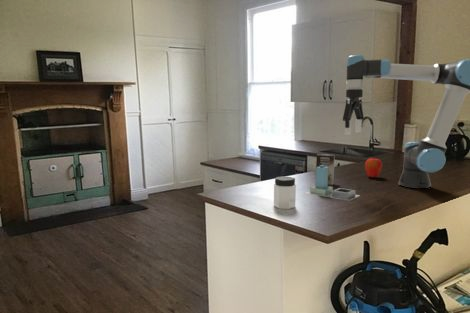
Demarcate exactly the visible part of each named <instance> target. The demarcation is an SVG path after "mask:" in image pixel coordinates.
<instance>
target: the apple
mask: <svg viewBox="0 0 470 313" xmlns="http://www.w3.org/2000/svg"><path fill="white" fill-rule="evenodd" d="M382 167H383V163H382V161H381V159H379V158H375V157H371V158H368V159H366V161H365V163H364V170H365V172H366V175H367V176H368V177H369V178H378V176H379V175H380V173H381V172H382Z"/></svg>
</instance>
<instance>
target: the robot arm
mask: <svg viewBox="0 0 470 313" xmlns="http://www.w3.org/2000/svg"><path fill="white" fill-rule="evenodd" d="M364 78H366V79H371V78H372V79H373V78H374V79H386V80H389V79H391V80H405V81H406V80H407V81H423V82H430V83H431V84H436V85H444V87H445V92H444V94H443V97H442V98H441V101H440V104H439V107H438V108H437V110H436V113H435V115H434V118H433V120H432V122H431V125H430V127H429V130H428V132H427V134H426V136H425V138H422V139H421V140H420V142H419V141H411V142H409V141H408V142H406V143H405V144H404V151H403V152H404V153H403V154H404V155H403V169H402V173H401V175H400V177H399V180H398V186H399V185H402V186H405V187H412V188H426V187H430V186H431V187H432V183H431V179H430V175H429V173H436V172H438V171H440V170H442V168H443V167H444V166H445V164H446V163H447V162H446V160H447V158H446V155H445V153H446V151H447V149H448V148H447V145H446V142H447V139H448V138H449V135H450V133H451V131H452V128H453V126H454V123H455V121H456V119H457V116H458V115H459V112H460V110H461V107H462V105H463V103H464V101H465V98H466V96H467V95H468V94H469V95H470V58H465V59H464V58H463V59H462V60H457V61H453V62H447V63H434V64H433V65H425V64H424V65H423V64H408V63H406V64H405V63H391V61H390V59H383V58H382V59H365V56H363V54H356V55H355V54H353V55H349V56H348V57H347V61H346V82H345V84H346V86H345V87H346V90H345V91H346V92H345V97H346V98H349V99H346V100H345V107H344V110H343V115H342V121H344V135H345V136H346V135H348V136H351V135H352V120H351V119H352V116H353V113H354V115H355V117H356V119H355V127H354V128H355V131H354V132H355V133H357V134H359V133H360V134H361V133H362V120H364V118H365V117H364V111H363V110H364V108H363V101H362V100H363V99H361V98H363V88H364ZM405 187H404V188H405Z"/></svg>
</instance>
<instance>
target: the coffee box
mask: <svg viewBox="0 0 470 313" xmlns="http://www.w3.org/2000/svg"><path fill="white" fill-rule="evenodd" d="M335 158H336V155H335V154H332V153H331V154H330V153H329V154H328V153H317V154H316V161H315V162H316V165H315V168H316V167H320V165H325V167H328V185H330V186H331V185H334V182H335V181H334V179H335V162H336V161H335ZM314 186H316V181H315V184H314Z"/></svg>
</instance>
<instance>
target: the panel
mask: <svg viewBox="0 0 470 313" xmlns="http://www.w3.org/2000/svg"><path fill="white" fill-rule="evenodd" d="M333 188H334V186H331V185H327V188H326V189H321V188H316V185H313V186H310V187H309V191H306V192H305V194H306V195H307V194H308V195H314V196H320V197H325V198H326V197H327V198H332V199H338V200H342V201H352V200H355V199H357V198H359V197H360V196H361V195H360V194H356V193H357V192H356V190H354V189H351V188H350V189H349V188H348V189H347V188H342V187H338V188H336V189H334V190H333Z"/></svg>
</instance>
